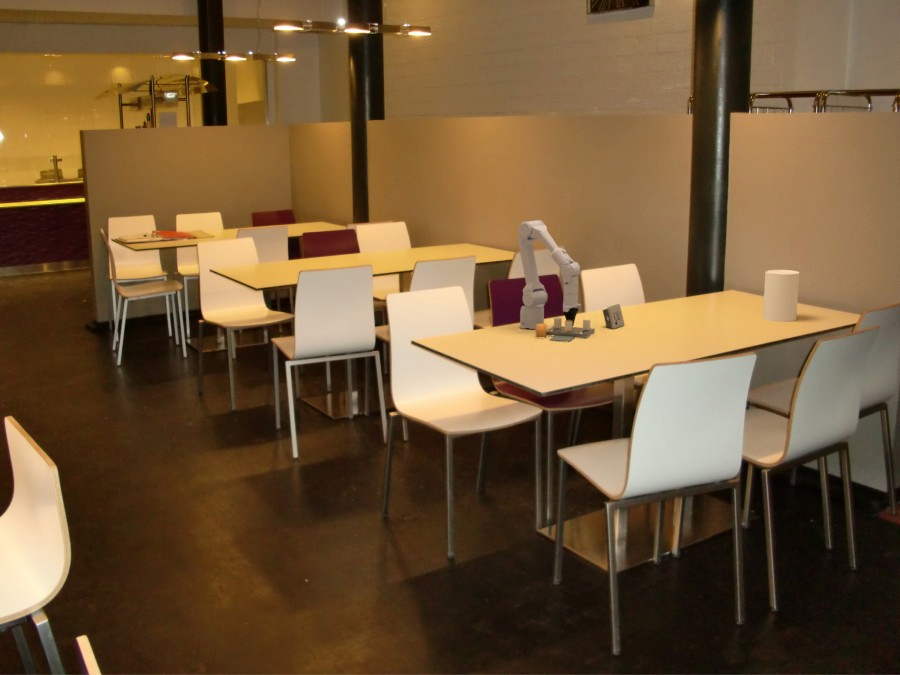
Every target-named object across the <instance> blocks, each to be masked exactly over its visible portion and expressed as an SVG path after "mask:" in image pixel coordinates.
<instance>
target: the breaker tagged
mask: <svg viewBox="0 0 900 675" xmlns="http://www.w3.org/2000/svg"><path fill="white" fill-rule="evenodd" d="M564 327H565V331H569V332H571V331H572V320H566V319H565V320H564Z"/></svg>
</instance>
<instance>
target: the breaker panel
mask: <svg viewBox="0 0 900 675" xmlns="http://www.w3.org/2000/svg"><path fill="white" fill-rule="evenodd" d="M595 331H596V329H595V328H591V327H590V330H583V327H576V326H575V327H574V326H573V327H572V331H571V332H569V331H565V326H563V325H561V328H554V325H553V326H552V327H550V328H548V329H547V335H554V336H555V335H557V336H571V337H581V338H580V339H588V338H589V337H590V336H592V335H593V334H594V333H595ZM591 334H592V335H591ZM554 336H553V337H554ZM587 337H588V338H587Z"/></svg>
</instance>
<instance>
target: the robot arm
mask: <svg viewBox="0 0 900 675" xmlns="http://www.w3.org/2000/svg"><path fill="white" fill-rule="evenodd" d="M517 232H518V240H517V242H518V248H519V253H520V258H521V265H522V269H523V274H524V279H525V286H524V287H523V289H522V302H523V304H524V305H522V306H521V307H520V313H519V314H520V315H519V319H520V320H519V321H520V322H519V329H525V328H529V329H528V330H536V324H539V323H544V322H545V318H544V317H545V307H544V306H545V305H546V303H547V302H548V299H549V298H548V297H549V296H548V293H547V291H546V289H545V285H544V284H542V283H541V282H540V277H539V273H538V268H537V262H536V257H535V252H534V247H533V246H534V245H533V244H534V243H535V242H536V240H539V241H540V242H541V243H542V244H543V245H544V246H545V247H546V248H547V249H548V250H549V252H550V253H551V258H552V260H553V261H554V262H555V264H556V265H557V267H559V269H560V274H561V277H562V281H563V302H562V313H563V315H564V319H565V321H566V320H572V327H574V326H575V321H576V317H577V314H578V312H579V308H577V307H581V303H579V276H580V275H581V273H582V266H581V265H580V263H579V262H577V261H574V259H573V258H572V257H571V256H570V255H569V254H568V252H567V250H566V249H564V248H563V247H559V246H558V245H557V243H556V242H555V240H554V239H553V237H552V236H551V234H550V233H549V232H548V227H547V225H546V224H545V222H544V221H542V220H541V219H536V220H530V221H529V220H527V221H522V222H521V223H520V224H519V226H518V228H517ZM544 324H545V323H544Z"/></svg>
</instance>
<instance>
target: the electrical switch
mask: <svg viewBox="0 0 900 675" xmlns="http://www.w3.org/2000/svg"><path fill="white" fill-rule="evenodd" d="M602 314H603V318H604V322H605V327H606V328H607V329H610V328H611V329H612V330H615V329H618V328H620V327H624V326H625V321H624V316H623V311H622V309H621V305H620V303H617V304H613V305H610V306H607V308H605V309H602Z"/></svg>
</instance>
